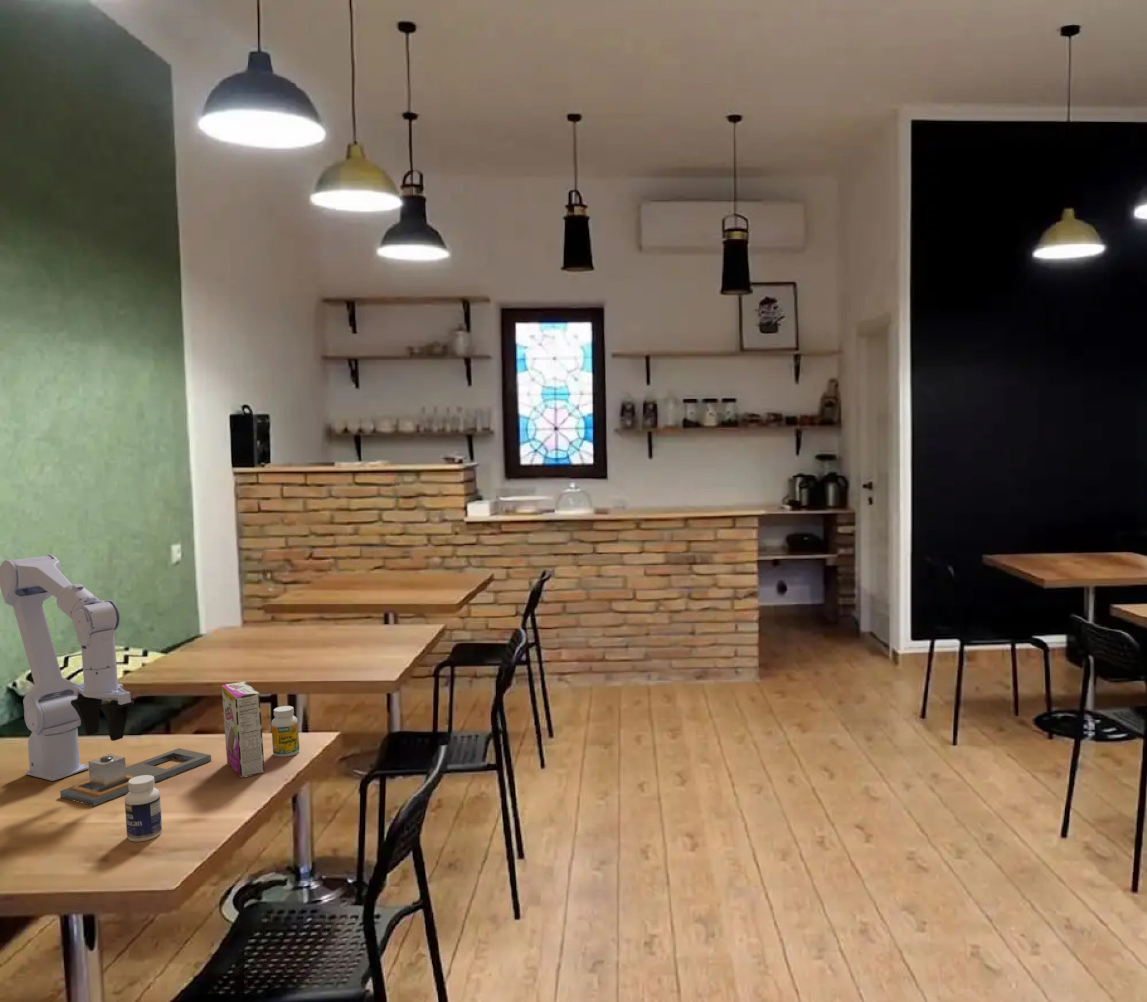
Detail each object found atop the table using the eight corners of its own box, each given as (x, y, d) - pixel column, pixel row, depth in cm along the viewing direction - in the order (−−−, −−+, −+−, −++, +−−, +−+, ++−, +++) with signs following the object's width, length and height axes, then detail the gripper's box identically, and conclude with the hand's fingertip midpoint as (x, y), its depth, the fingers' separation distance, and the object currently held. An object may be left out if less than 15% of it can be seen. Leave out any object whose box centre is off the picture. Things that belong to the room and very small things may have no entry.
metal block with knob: (90, 792, 178) (88, 759, 178) (111, 784, 182) (109, 752, 182) (105, 796, 176) (103, 763, 175) (126, 787, 180) (124, 755, 179)
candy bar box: (225, 763, 192) (220, 684, 191) (250, 757, 195) (245, 680, 193) (239, 779, 183) (234, 696, 181) (265, 773, 185) (261, 691, 184)
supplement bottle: (295, 747, 200) (292, 703, 200) (302, 753, 196) (300, 709, 195) (269, 752, 197) (267, 707, 197) (277, 759, 193) (274, 713, 192)
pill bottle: (119, 841, 155) (116, 784, 155) (140, 828, 161) (136, 772, 160) (149, 843, 154) (145, 785, 154) (168, 829, 160) (165, 773, 159)
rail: (60, 797, 176) (60, 789, 176) (179, 753, 198) (178, 746, 198) (93, 806, 171) (92, 798, 171) (211, 760, 193) (210, 753, 193)
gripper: (143, 665, 177) (147, 735, 178) (95, 657, 184) (100, 725, 185) (108, 674, 171) (113, 746, 172) (61, 666, 178) (66, 735, 179)
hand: (104, 736), depth 178 cm, fingers open, 7 cm apart
